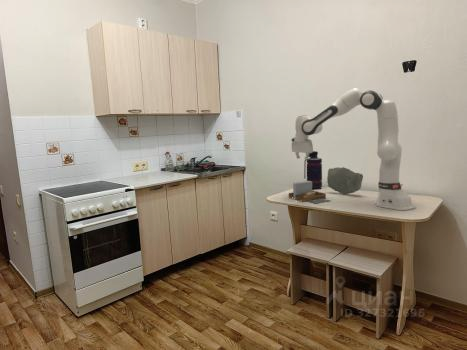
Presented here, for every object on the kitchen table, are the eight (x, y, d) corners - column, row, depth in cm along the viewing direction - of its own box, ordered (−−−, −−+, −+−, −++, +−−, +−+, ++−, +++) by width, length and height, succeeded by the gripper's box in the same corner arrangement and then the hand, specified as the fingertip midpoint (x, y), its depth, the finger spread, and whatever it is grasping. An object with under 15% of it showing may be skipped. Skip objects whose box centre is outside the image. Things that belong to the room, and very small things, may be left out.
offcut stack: (317, 198, 228) (316, 192, 228) (305, 200, 224) (305, 194, 224) (313, 197, 232) (313, 191, 231) (301, 199, 228) (301, 193, 227)
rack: (325, 198, 228) (325, 193, 228) (303, 202, 220) (302, 197, 220) (310, 194, 243) (310, 189, 243) (288, 197, 235) (288, 193, 235)
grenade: (320, 186, 271) (320, 150, 266) (323, 189, 259) (322, 151, 255) (303, 187, 272) (303, 151, 268) (305, 189, 261) (304, 152, 256)
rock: (364, 195, 230) (365, 167, 227) (361, 197, 225) (361, 168, 222) (330, 191, 249) (330, 165, 246) (326, 193, 244) (325, 166, 241)
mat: (330, 201, 219) (330, 200, 219) (315, 203, 214) (315, 203, 214) (323, 199, 226) (323, 198, 226) (308, 201, 220) (308, 201, 220)
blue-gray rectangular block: (312, 196, 236) (312, 181, 234) (296, 199, 230) (296, 183, 229) (309, 195, 239) (309, 180, 238) (293, 198, 233) (293, 183, 232)
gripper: (315, 139, 221) (315, 159, 223) (297, 138, 239) (297, 157, 241) (307, 139, 218) (307, 160, 220) (289, 139, 236) (290, 158, 238)
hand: (302, 158), depth 231 cm, fingers open, 8 cm apart
